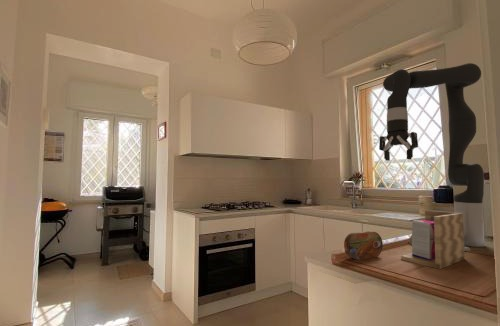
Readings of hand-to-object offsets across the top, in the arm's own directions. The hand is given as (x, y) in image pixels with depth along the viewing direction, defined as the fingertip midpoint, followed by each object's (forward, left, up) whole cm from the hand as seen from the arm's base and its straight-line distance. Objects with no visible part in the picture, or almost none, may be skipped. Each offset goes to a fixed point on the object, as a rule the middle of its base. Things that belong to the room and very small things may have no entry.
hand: (397, 159), depth 108 cm
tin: (+28, +2, -34) cm, 44 cm away
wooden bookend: (+10, +16, -34) cm, 39 cm away
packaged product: (-12, +9, -35) cm, 38 cm away
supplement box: (+14, +15, -33) cm, 39 cm away
